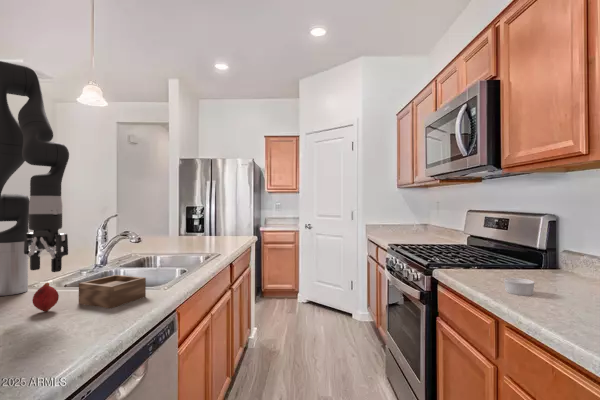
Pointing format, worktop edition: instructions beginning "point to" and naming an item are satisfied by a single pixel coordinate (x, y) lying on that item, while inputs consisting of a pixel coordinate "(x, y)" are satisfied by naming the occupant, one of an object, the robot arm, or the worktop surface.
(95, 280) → the wooden box
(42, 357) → the worktop surface
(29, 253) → the robot arm
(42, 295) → the onion
